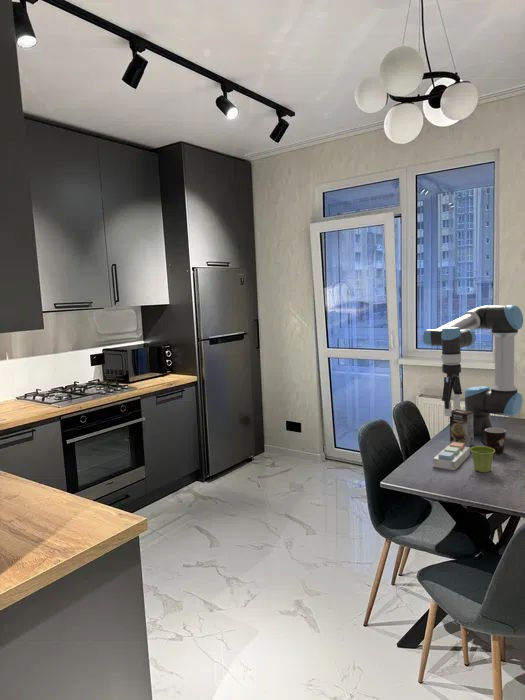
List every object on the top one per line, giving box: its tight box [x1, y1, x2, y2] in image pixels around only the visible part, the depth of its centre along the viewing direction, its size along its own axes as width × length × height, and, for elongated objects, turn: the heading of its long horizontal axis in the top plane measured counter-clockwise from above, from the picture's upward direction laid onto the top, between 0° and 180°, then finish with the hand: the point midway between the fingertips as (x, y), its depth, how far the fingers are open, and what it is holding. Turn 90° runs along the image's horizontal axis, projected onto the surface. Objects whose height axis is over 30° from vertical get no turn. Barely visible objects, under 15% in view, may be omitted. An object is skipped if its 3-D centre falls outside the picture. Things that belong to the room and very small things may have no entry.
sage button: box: [443, 446, 460, 456], centre depth 222 cm, size 5×5×3 cm
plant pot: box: [470, 445, 495, 473], centre depth 208 cm, size 9×9×9 cm
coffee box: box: [449, 409, 475, 447], centre depth 243 cm, size 9×6×16 cm
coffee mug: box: [480, 427, 507, 455], centre depth 229 cm, size 12×9×10 cm
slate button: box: [437, 450, 454, 461], centre depth 216 cm, size 5×5×3 cm
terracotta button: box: [450, 442, 464, 451], centre depth 227 cm, size 5×5×3 cm
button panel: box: [432, 444, 471, 471], centre depth 222 cm, size 22×9×4 cm, turn 143°
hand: (452, 412), depth 219 cm, fingers open, 12 cm apart
